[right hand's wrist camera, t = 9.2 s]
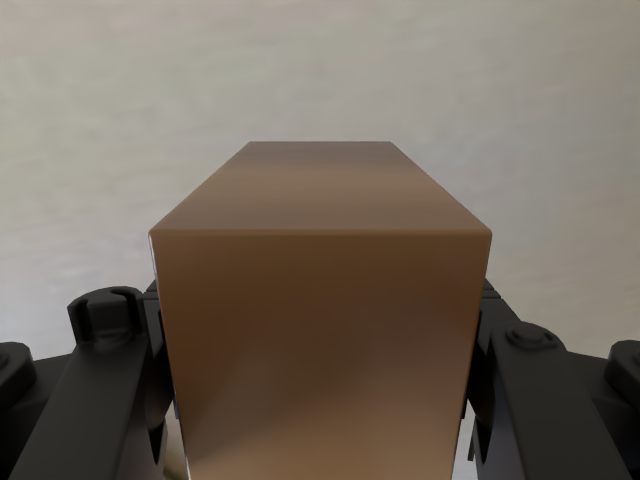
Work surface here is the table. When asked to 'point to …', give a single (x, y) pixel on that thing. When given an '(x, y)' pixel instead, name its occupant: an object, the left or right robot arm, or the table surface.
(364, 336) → the bar
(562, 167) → the table surface
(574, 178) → the table surface
